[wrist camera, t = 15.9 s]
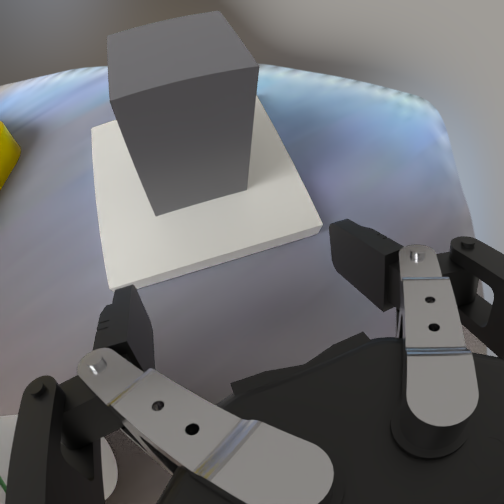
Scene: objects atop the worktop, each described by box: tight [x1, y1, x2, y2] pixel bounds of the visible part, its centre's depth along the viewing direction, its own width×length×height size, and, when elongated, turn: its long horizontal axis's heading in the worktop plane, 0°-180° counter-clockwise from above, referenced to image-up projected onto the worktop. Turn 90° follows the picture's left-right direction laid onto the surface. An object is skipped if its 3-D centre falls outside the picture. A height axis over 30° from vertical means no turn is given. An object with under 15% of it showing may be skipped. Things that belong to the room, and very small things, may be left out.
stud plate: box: [91, 95, 323, 292], centre depth 19 cm, size 14×14×8 cm
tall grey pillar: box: [107, 11, 259, 216], centre depth 17 cm, size 6×6×10 cm
